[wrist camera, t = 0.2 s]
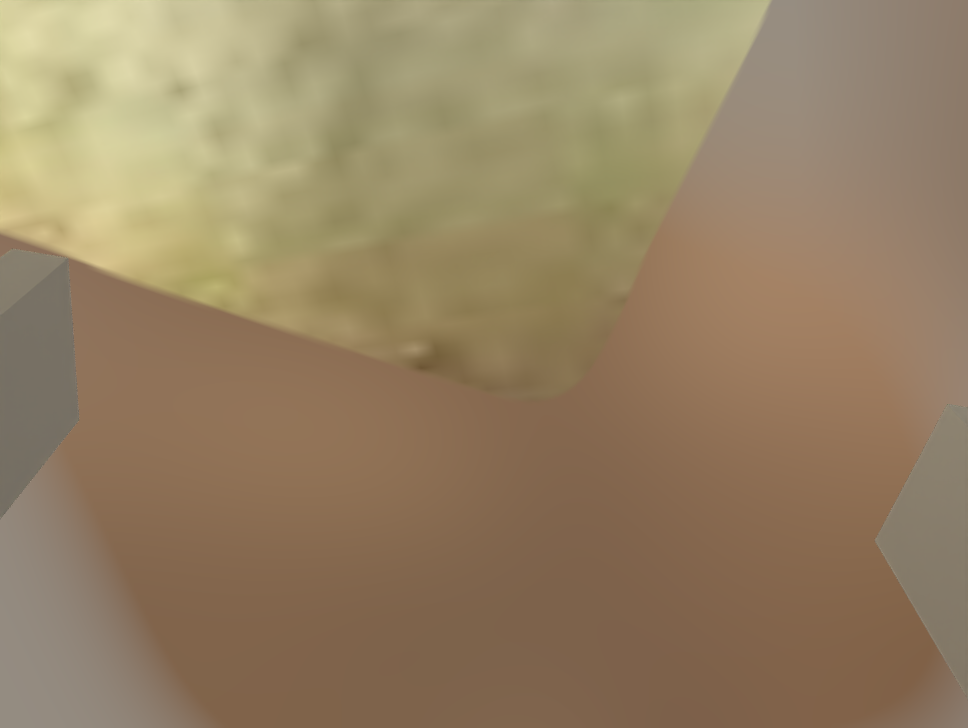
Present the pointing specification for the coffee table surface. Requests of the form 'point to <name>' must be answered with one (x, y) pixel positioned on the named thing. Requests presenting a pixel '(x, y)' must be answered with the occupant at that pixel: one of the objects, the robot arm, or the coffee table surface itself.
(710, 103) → the coffee table surface
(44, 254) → the robot arm
